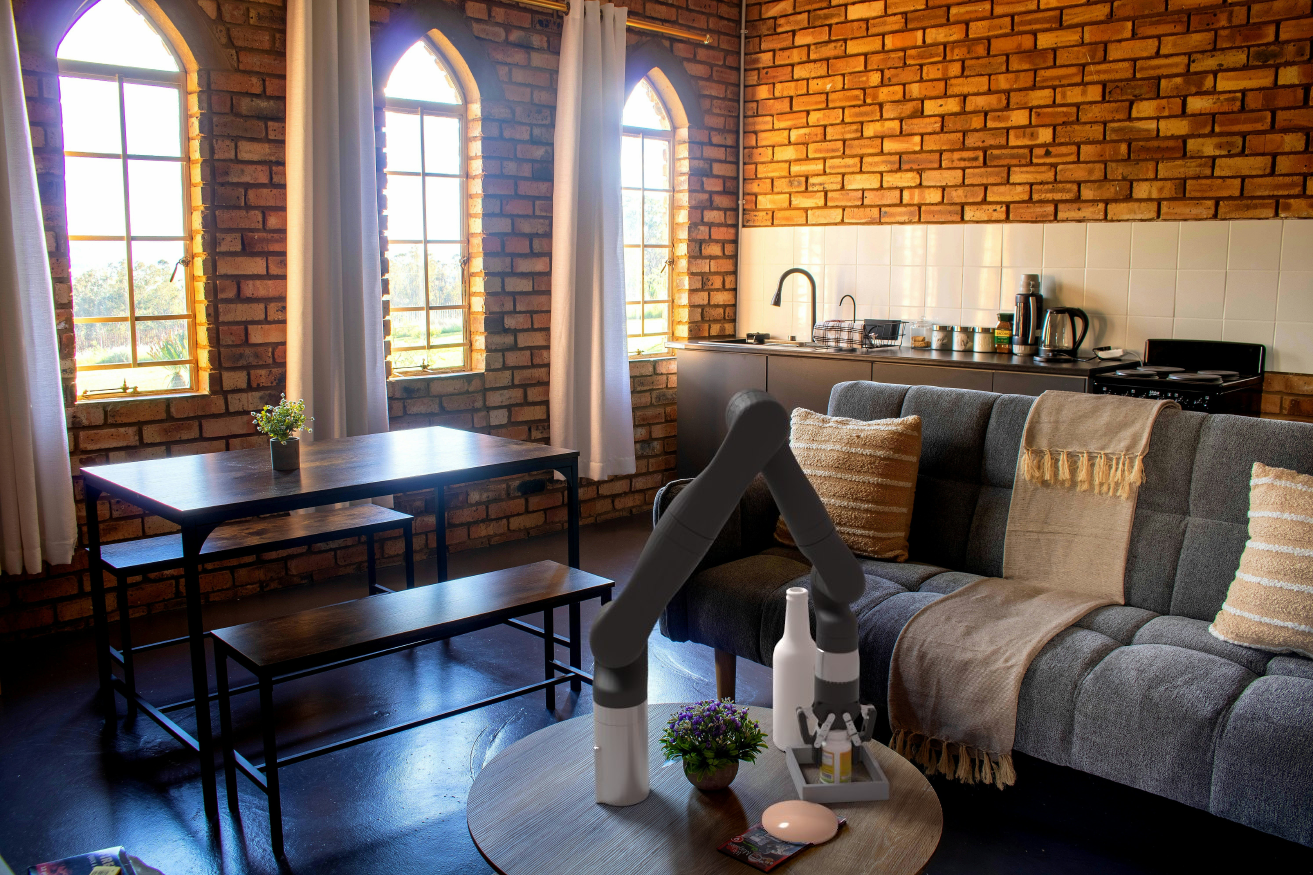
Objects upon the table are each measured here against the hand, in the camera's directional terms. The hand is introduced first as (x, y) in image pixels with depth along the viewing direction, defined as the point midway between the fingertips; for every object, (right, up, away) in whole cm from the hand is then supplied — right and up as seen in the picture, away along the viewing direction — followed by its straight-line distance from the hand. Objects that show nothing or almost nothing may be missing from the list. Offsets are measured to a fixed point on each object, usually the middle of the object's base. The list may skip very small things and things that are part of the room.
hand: (835, 763), depth 175 cm
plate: (-8, -5, -13) cm, 17 cm away
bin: (0, -3, 0) cm, 3 cm away
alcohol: (-5, -1, +14) cm, 15 cm away
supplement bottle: (0, -3, 0) cm, 3 cm away
